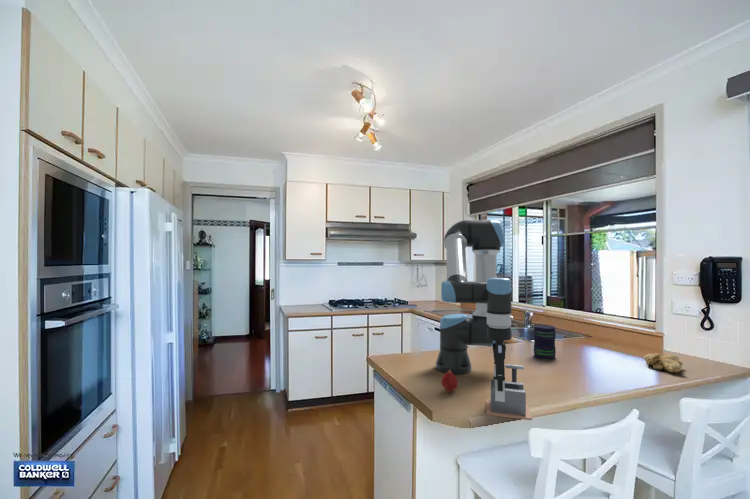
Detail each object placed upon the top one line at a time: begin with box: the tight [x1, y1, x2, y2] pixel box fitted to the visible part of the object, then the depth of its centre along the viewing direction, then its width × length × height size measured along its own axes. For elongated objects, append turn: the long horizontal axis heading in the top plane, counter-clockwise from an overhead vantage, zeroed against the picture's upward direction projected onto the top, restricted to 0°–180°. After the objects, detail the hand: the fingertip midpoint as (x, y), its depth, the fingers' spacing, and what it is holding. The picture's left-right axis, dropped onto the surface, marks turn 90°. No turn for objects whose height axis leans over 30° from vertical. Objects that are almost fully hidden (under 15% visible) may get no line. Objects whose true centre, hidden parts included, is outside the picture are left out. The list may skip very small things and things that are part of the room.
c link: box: [490, 379, 527, 416], centre depth 116 cm, size 10×9×7 cm
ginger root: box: [643, 352, 683, 373], centre depth 160 cm, size 16×16×8 cm
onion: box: [440, 370, 459, 394], centre depth 131 cm, size 6×6×8 cm
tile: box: [485, 399, 533, 421], centre depth 115 cm, size 13×11×1 cm
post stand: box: [504, 363, 525, 382], centre depth 128 cm, size 6×3×10 cm, turn 73°
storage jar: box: [533, 324, 557, 361], centre depth 178 cm, size 10×10×15 cm
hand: (499, 392), depth 117 cm, fingers open, 13 cm apart
